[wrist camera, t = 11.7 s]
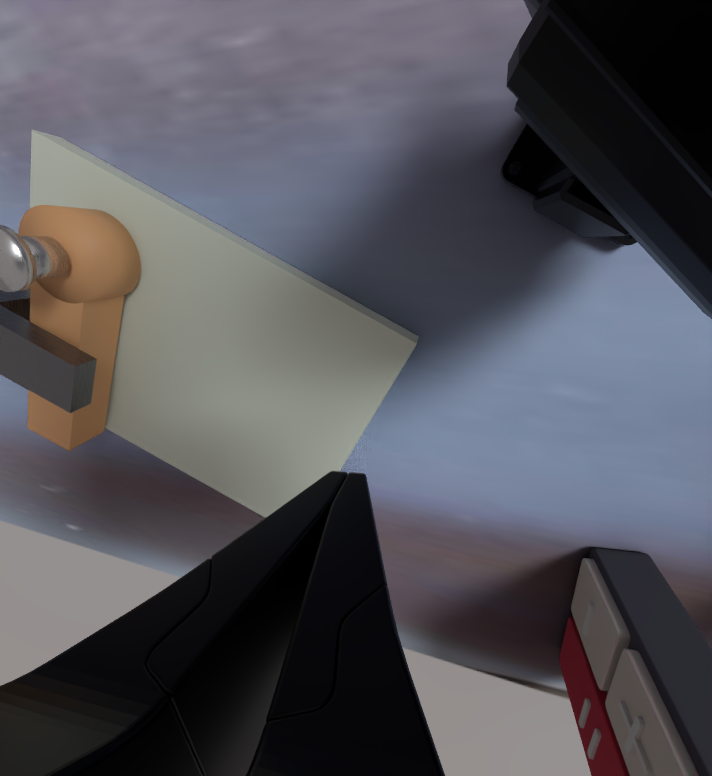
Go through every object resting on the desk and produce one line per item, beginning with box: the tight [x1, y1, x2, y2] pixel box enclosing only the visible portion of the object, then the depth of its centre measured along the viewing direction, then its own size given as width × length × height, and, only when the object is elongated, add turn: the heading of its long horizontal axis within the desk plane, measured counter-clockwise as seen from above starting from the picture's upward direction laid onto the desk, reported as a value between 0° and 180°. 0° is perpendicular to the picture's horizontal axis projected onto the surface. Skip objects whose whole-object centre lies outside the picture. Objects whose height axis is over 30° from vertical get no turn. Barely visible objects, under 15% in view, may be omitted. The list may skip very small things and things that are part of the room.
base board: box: [30, 130, 419, 518], centre depth 21 cm, size 16×22×2 cm
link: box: [19, 205, 140, 451], centre depth 20 cm, size 14×4×2 cm, turn 154°
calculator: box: [559, 548, 712, 776], centre depth 16 cm, size 11×4×15 cm, turn 4°
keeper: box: [0, 225, 97, 413], centre depth 19 cm, size 8×8×7 cm
